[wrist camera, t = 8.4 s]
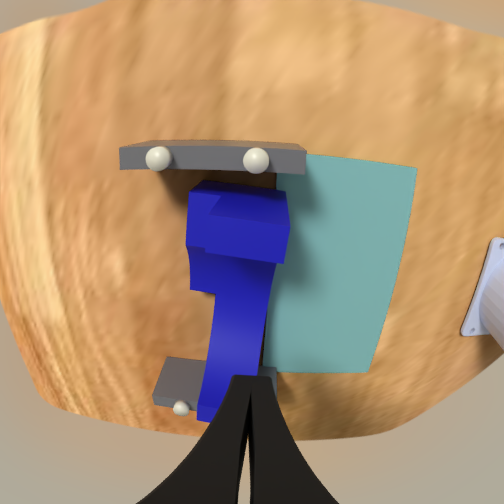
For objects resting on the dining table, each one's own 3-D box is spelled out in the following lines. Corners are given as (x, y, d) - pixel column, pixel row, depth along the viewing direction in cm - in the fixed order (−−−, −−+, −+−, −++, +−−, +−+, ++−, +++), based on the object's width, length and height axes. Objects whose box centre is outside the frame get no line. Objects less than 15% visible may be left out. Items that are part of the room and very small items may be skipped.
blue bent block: (203, 179, 17) (168, 209, 12) (285, 191, 17) (290, 226, 12) (192, 350, 22) (171, 414, 16) (255, 361, 22) (248, 428, 16)
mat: (416, 168, 16) (417, 168, 16) (367, 371, 22) (367, 372, 22) (278, 151, 16) (278, 152, 16) (261, 370, 22) (262, 371, 22)
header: (297, 144, 16) (308, 151, 12) (275, 375, 22) (275, 424, 18) (150, 140, 16) (113, 148, 12) (168, 366, 23) (152, 411, 18)
